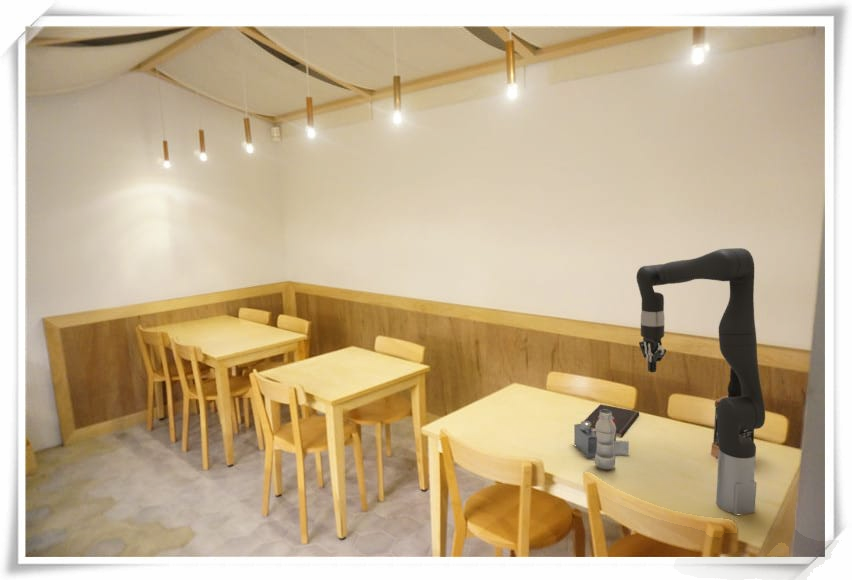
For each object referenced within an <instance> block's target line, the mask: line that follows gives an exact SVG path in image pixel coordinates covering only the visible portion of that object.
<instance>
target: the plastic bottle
mask: <svg viewBox="0 0 852 580" xmlns="http://www.w3.org/2000/svg"><path fill="white" fill-rule="evenodd" d="M599 417H600V419H599V420H598V421H597V423H596V425H595V428H596V435H597V449H596V455H595V458H594V463H595V465H596V468H599V469H601V470H604V471H609V470H610V471H611V470H613V469H614V467H615V466H616V457H615V456H616V455H614V437H615V432H616V426H615V424H614V422H613V421H612V420H611V418H612V414H611V411H609V410H601V411H600V415H599Z"/></svg>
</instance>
